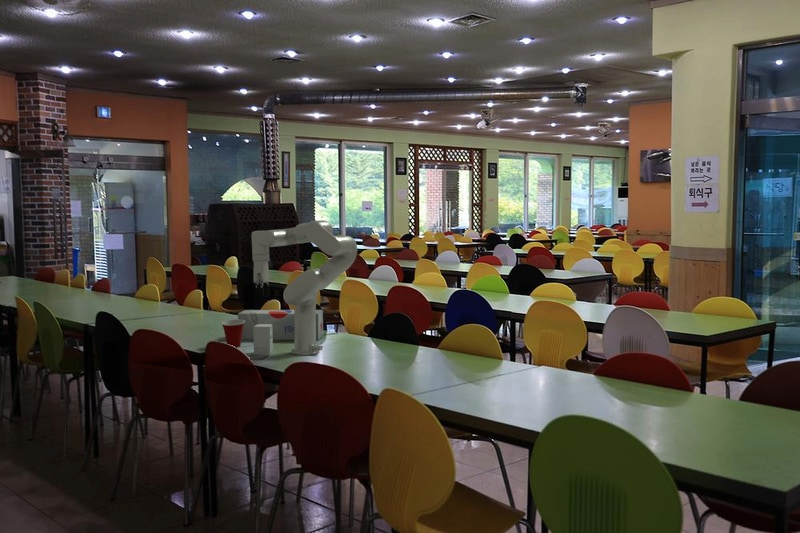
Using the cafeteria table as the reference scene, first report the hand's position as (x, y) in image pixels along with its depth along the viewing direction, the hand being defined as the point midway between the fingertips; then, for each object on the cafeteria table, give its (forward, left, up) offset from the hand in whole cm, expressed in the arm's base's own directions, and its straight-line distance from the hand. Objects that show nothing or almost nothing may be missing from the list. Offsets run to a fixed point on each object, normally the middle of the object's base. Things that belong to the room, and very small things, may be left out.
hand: (262, 295), depth 346 cm
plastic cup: (+16, +2, -25) cm, 29 cm away
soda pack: (+10, -27, -25) cm, 38 cm away
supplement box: (-6, +9, -25) cm, 27 cm away
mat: (-10, +18, -25) cm, 32 cm away
